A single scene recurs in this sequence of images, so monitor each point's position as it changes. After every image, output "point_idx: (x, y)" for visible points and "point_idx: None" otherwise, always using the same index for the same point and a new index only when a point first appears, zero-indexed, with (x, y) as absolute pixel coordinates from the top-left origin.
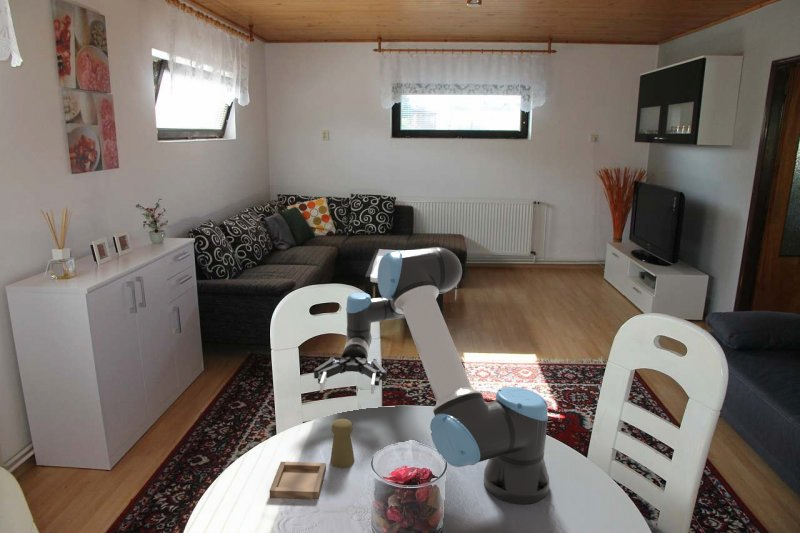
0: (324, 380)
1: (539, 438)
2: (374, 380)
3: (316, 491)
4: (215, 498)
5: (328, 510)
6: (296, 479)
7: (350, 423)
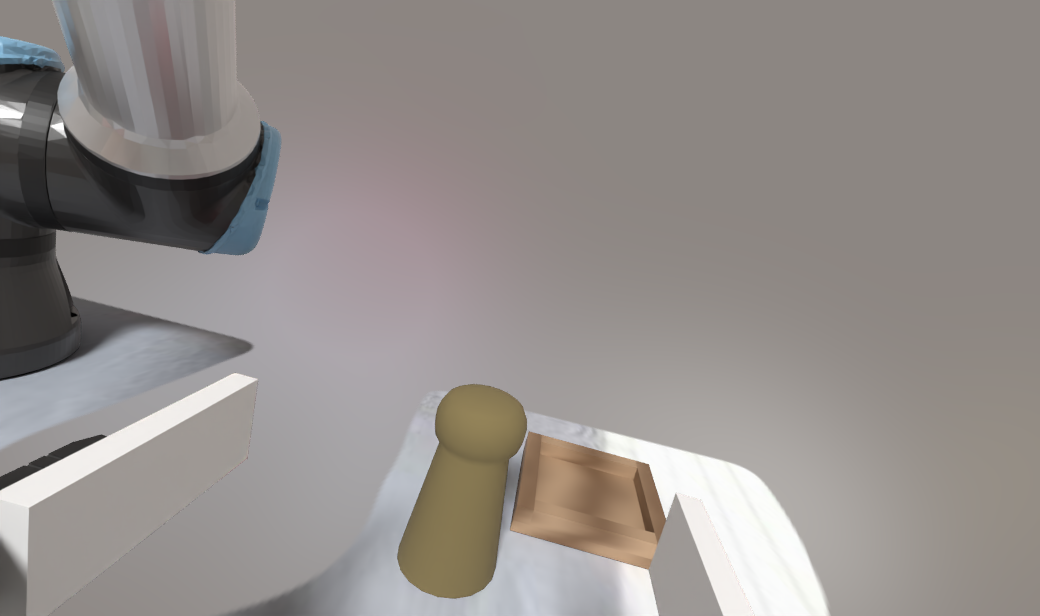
0: (693, 601)
1: None
2: (177, 401)
3: (533, 433)
4: (771, 516)
5: None
6: (595, 500)
7: (450, 392)
